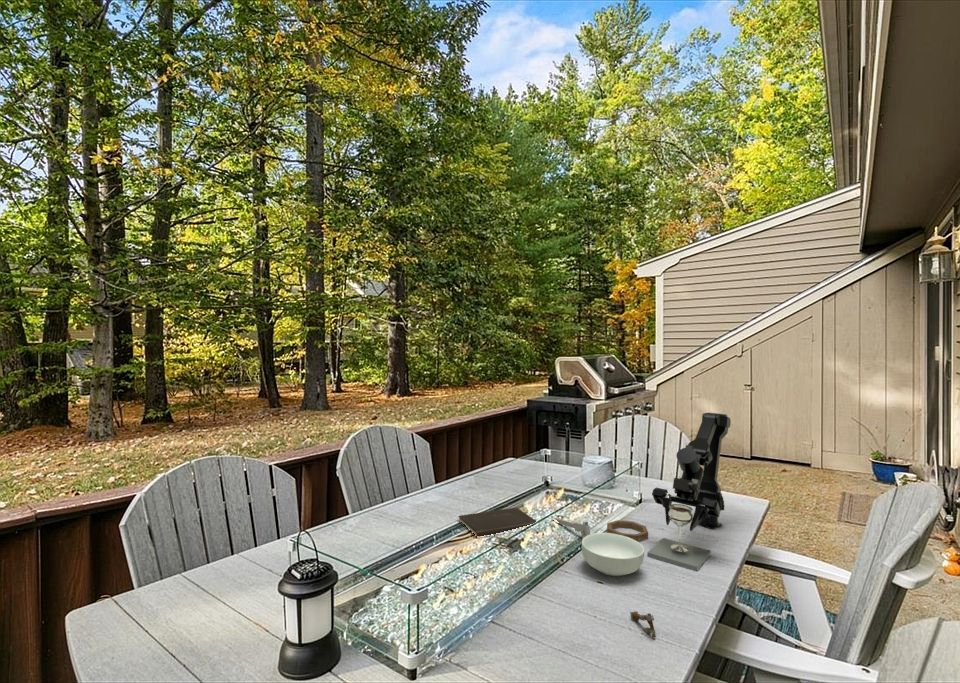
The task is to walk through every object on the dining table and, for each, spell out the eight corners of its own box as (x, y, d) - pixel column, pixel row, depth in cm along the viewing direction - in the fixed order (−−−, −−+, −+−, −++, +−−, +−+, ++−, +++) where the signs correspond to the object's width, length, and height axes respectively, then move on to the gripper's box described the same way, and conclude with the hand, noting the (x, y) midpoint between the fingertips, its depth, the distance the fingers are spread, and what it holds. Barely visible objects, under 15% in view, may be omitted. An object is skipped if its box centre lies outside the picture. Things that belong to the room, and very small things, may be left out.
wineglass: (682, 542, 152) (682, 503, 152) (697, 551, 145) (698, 510, 145) (662, 544, 150) (663, 504, 150) (677, 554, 143) (678, 512, 143)
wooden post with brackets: (653, 638, 105) (648, 614, 107) (633, 633, 112) (629, 611, 114) (660, 637, 105) (656, 613, 107) (640, 632, 113) (636, 610, 114)
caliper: (590, 542, 156) (590, 523, 156) (587, 543, 156) (587, 523, 155) (554, 520, 175) (554, 502, 174) (551, 520, 174) (552, 503, 174)
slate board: (663, 541, 157) (663, 537, 157) (710, 554, 148) (710, 550, 148) (647, 556, 146) (647, 552, 146) (697, 571, 138) (697, 566, 138)
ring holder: (624, 523, 172) (624, 518, 172) (655, 536, 162) (655, 530, 161) (599, 531, 165) (599, 525, 165) (630, 544, 154) (630, 538, 154)
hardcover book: (458, 522, 172) (458, 515, 172) (516, 513, 181) (516, 507, 181) (476, 540, 157) (476, 532, 157) (539, 529, 167) (539, 522, 167)
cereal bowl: (609, 590, 127) (609, 562, 126) (568, 563, 141) (569, 538, 141) (657, 576, 134) (658, 550, 134) (614, 552, 149) (614, 528, 149)
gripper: (654, 461, 156) (640, 506, 148) (718, 473, 144) (707, 521, 136) (662, 480, 162) (649, 524, 154) (724, 493, 151) (714, 541, 142)
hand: (678, 527), depth 146 cm, fingers closed on wineglass, 6 cm apart
